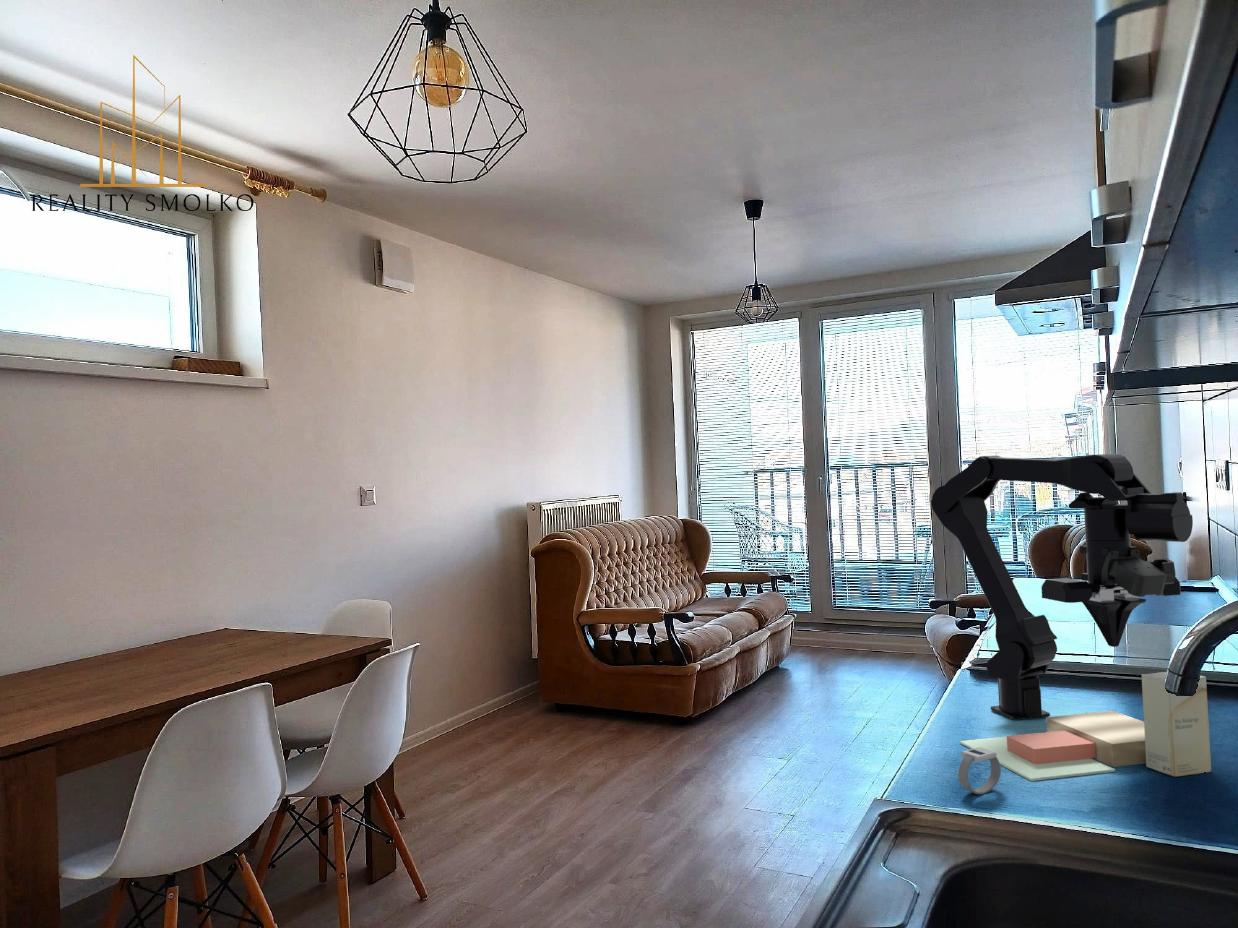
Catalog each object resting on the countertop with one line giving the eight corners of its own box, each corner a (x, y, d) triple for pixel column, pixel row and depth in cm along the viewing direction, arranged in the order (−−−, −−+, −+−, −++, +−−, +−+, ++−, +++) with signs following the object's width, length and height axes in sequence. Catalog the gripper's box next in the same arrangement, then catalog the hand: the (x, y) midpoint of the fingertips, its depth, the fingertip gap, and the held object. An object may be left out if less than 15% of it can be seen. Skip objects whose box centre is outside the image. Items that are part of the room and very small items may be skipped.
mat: (959, 743, 123) (959, 740, 123) (1034, 735, 125) (1034, 733, 125) (1031, 780, 108) (1031, 778, 108) (1114, 771, 110) (1114, 769, 110)
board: (1047, 737, 124) (1046, 717, 124) (1113, 730, 126) (1112, 710, 126) (1113, 766, 111) (1111, 743, 111) (1186, 758, 113) (1185, 736, 113)
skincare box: (1174, 778, 106) (1169, 681, 107) (1144, 767, 111) (1139, 673, 111) (1213, 771, 108) (1208, 676, 108) (1182, 760, 112) (1177, 668, 113)
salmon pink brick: (1034, 764, 113) (1034, 748, 113) (1007, 750, 118) (1006, 735, 119) (1095, 757, 114) (1095, 742, 114) (1065, 744, 120) (1064, 730, 120)
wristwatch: (988, 783, 107) (986, 744, 107) (1007, 790, 105) (1005, 749, 105) (953, 793, 105) (951, 753, 105) (972, 800, 102) (970, 759, 102)
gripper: (1090, 546, 115) (1096, 662, 114) (1209, 539, 118) (1216, 652, 118) (1036, 541, 126) (1042, 647, 125) (1147, 534, 129) (1152, 637, 129)
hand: (1113, 646), depth 124 cm, fingers closed
